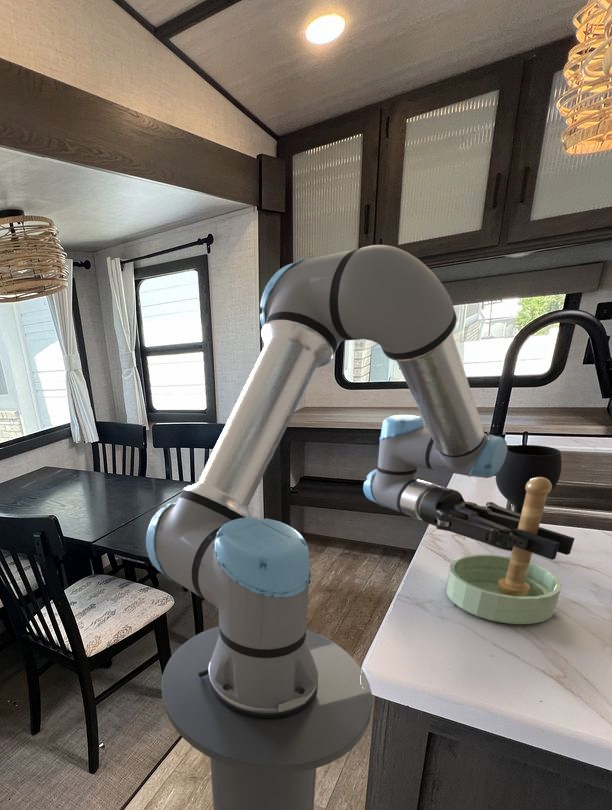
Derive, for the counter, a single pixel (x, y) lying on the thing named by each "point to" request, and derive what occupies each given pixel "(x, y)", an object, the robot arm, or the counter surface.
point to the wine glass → (526, 472)
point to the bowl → (479, 595)
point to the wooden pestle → (529, 523)
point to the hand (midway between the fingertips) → (562, 548)
